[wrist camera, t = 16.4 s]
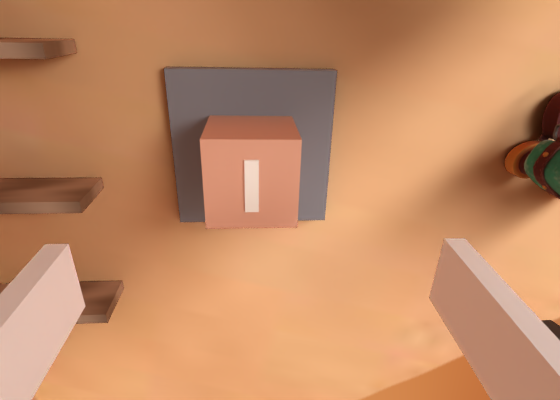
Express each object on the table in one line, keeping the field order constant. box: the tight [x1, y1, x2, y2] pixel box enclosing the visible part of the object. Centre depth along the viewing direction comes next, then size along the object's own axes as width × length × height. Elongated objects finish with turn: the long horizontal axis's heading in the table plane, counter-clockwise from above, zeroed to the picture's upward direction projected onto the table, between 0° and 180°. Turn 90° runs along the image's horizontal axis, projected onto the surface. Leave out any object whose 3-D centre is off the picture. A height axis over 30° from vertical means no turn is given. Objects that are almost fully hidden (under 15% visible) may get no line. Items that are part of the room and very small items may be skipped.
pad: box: [164, 67, 337, 222], centre depth 27 cm, size 11×11×1 cm
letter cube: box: [200, 115, 302, 229], centre depth 24 cm, size 6×6×6 cm
